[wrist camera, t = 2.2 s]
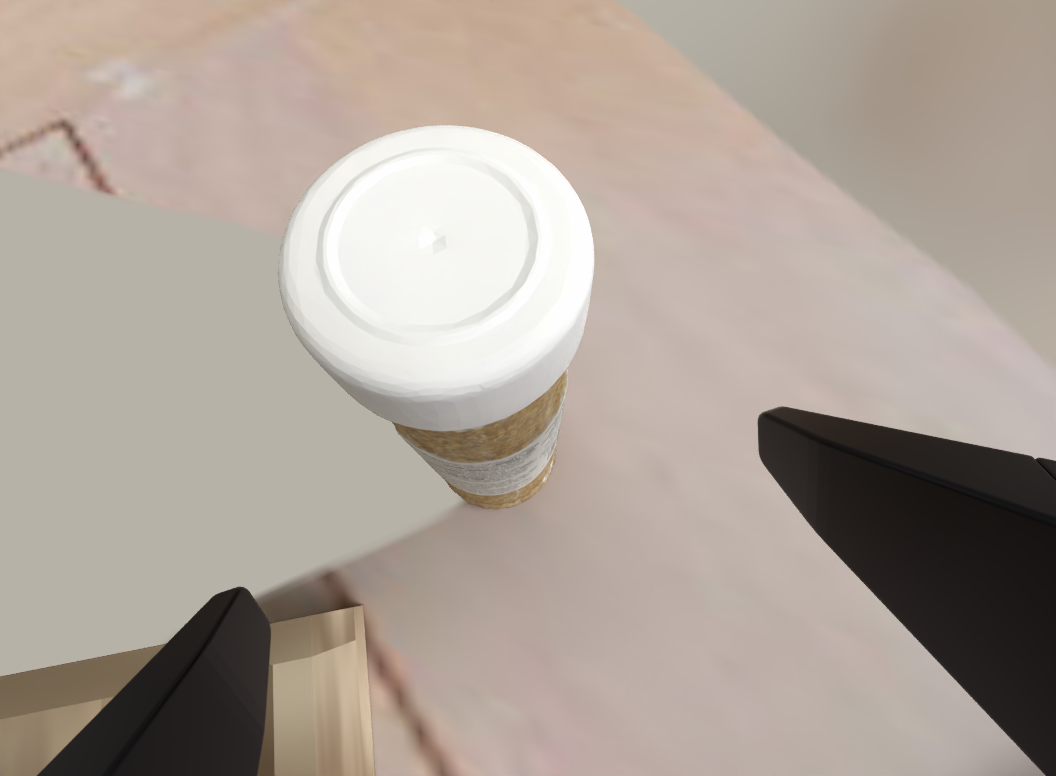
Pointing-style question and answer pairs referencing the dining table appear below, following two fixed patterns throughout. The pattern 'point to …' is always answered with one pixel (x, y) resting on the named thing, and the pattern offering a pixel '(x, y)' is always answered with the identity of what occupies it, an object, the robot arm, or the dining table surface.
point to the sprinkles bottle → (447, 298)
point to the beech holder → (291, 716)
